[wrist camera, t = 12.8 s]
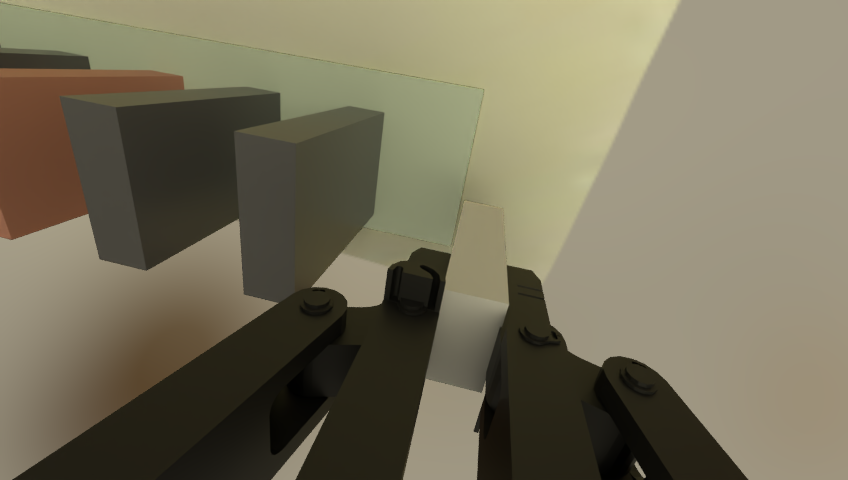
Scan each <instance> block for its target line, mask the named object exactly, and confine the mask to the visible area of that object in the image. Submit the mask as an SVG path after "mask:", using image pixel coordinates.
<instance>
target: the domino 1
mask: <svg viewBox="0 0 848 480" xmlns="http://www.w3.org/2000/svg"><path fill="white" fill-rule="evenodd" d="M0 68H8V69H91V68H90V63H89V58H88V56H83V55H77V54H72V53H67V52H62V51H52V50H34V49H15V48H0Z"/></svg>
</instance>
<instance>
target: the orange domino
mask: <svg viewBox="0 0 848 480" xmlns="http://www.w3.org/2000/svg"><path fill="white" fill-rule="evenodd" d="M167 90H184V81H183V76H179V75H174V74H169V73H163V72H158V71H153V70H93V69H8V68H0V237H2V238H7V239H10V240H13V239H16V238H18V237H22V236H24V235H28V234H30V233H33V232H36V231H39V230H42V229H45V228H48V227H51V226H54V225H57V224H60V223H62V222H65V221H68V220H71V219H74V218H77V217H80V216H83V215H86V214H88V210H87V206H86V202H85V198H84V194H83V190H82V186H81V182H80V178H79V174H78V170H77V166H76V162H75V157H74V153H73V149H72V145H71V141H70V137H69V133H68V129H67V125H66V121H65V117H64V113H63V109H62V105H61V101H60V97H59V96H66V95H87V94H107V93H127V92H147V91H167Z"/></svg>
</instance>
